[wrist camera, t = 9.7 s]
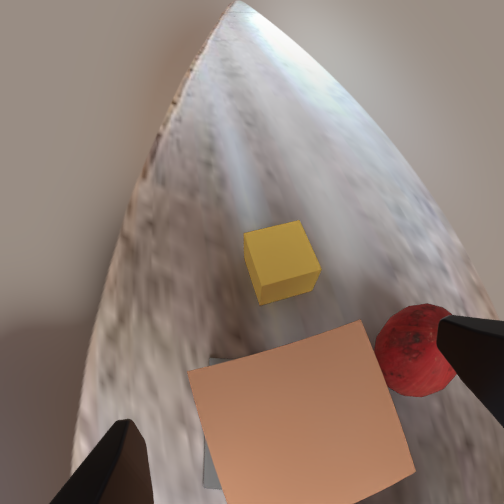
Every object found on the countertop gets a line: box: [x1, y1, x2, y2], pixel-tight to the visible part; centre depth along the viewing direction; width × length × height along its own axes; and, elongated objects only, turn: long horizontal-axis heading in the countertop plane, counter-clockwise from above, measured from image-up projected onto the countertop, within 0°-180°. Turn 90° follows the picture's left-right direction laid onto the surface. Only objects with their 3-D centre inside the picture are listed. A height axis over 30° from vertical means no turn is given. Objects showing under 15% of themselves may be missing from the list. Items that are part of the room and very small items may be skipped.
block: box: [244, 220, 322, 306], centre depth 22 cm, size 4×4×4 cm
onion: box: [374, 304, 457, 397], centre depth 16 cm, size 6×6×8 cm
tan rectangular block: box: [187, 319, 416, 504], centre depth 13 cm, size 6×6×10 cm
